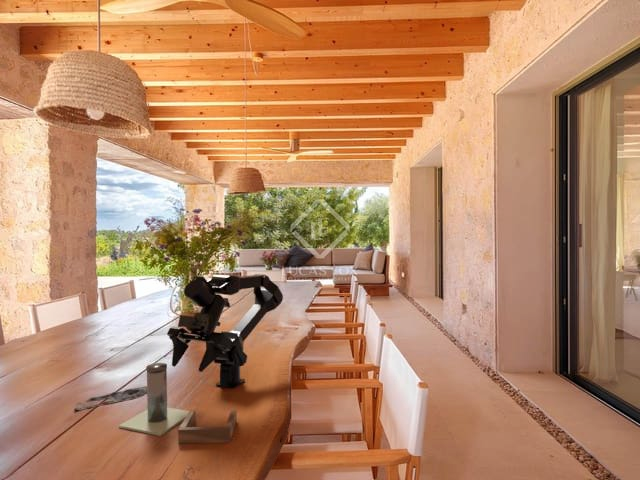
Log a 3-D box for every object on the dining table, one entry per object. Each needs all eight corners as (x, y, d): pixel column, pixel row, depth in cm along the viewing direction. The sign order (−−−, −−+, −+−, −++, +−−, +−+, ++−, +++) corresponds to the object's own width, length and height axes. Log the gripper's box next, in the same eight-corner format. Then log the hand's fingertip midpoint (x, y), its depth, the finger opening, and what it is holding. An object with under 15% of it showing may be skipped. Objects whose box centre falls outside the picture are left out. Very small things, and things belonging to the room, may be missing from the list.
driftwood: (153, 388, 127) (153, 381, 127) (159, 395, 121) (158, 388, 121) (73, 405, 116) (72, 397, 115) (75, 415, 110) (74, 406, 110)
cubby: (190, 422, 104) (190, 410, 104) (236, 421, 105) (236, 409, 104) (178, 443, 94) (178, 429, 94) (229, 442, 95) (229, 428, 94)
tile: (154, 406, 113) (154, 405, 113) (193, 413, 109) (192, 411, 109) (119, 427, 101) (118, 425, 101) (160, 436, 97) (160, 433, 97)
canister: (163, 412, 108) (162, 361, 108) (170, 418, 105) (169, 366, 104) (144, 417, 105) (143, 365, 105) (151, 424, 102) (150, 370, 101)
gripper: (167, 298, 119) (140, 352, 111) (221, 304, 110) (196, 362, 102) (190, 316, 127) (167, 367, 119) (242, 322, 119) (220, 378, 111)
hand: (186, 368), depth 112 cm, fingers open, 9 cm apart
